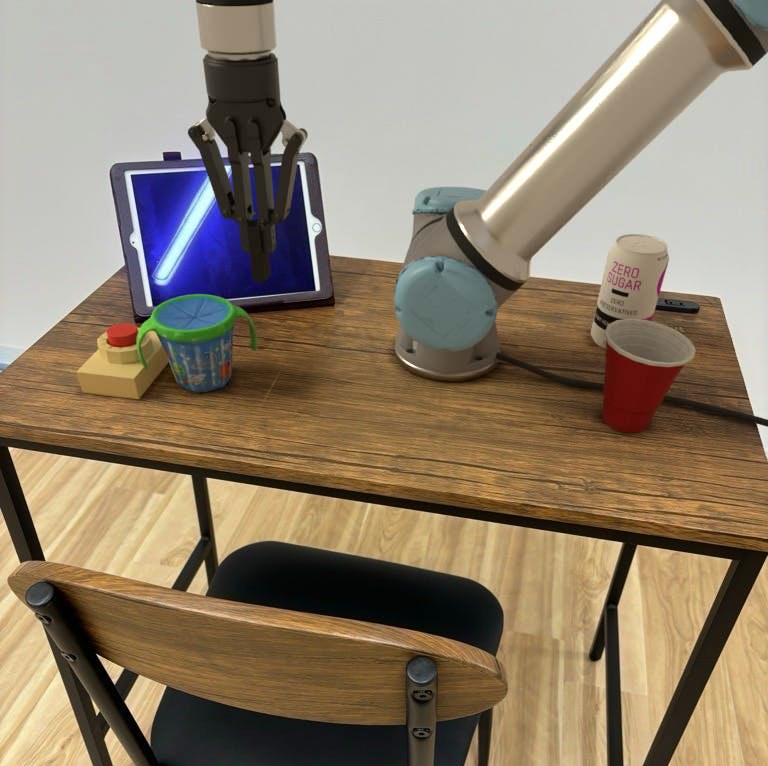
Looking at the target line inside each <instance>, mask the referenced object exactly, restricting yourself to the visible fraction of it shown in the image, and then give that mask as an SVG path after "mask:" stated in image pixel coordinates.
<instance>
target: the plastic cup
mask: <svg viewBox="0 0 768 766" xmlns="http://www.w3.org/2000/svg"><path fill="white" fill-rule="evenodd" d="M605 338H606V349H605V366H604V378H603V384H604V389H603V390H602V396H603V399H602V400H603V401H602V419H603V421H604V423H605V425H607V426H608V427H609V428H611V429H613V430H615V431H618V432H622V433H626V434H636V433H640V432H642V431H644V430H646V429H647V427H648V425H649V424H650V423H651V421H652V419H653V417H654V415H655V414H656V412H657V410H658V409H659V408H660V406H661V405H662V403H663V402H664V401H663V399H664V397H665V395H667V394H668V392H669V390H670V389H671V386H672V384H673V383H674V381H675V379H676V377H677V376H678V375H679V374H680V372H681V370H682V369H684V367H685V365H687V364H688V363H689V362H691V361H693V359H694V358H695V355H696V351H697V350H696V347H695V346H694V344H693V342H692V341H691V339H689V338H688V337H687V336H686V335H684V334H683V333H681V332H680V331H679V330H676V329H674V328H672V327H670V326H667V325H666V324H662V323H659V322H655V321H653V320H652V321H648V320H639V319H623V320H616V321H615V322H613V323H611V324H609V325H608V326H607V328H606V331H605Z"/></svg>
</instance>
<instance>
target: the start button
mask: <svg viewBox="0 0 768 766" xmlns="http://www.w3.org/2000/svg"><path fill="white" fill-rule="evenodd" d="M138 328H139V327H138V326H137V325H136V324H135V323H131V322H121V323H116V324H113V325H111V326H109V327H108V328H107V329H106V332H107V336H108V340H109V344H110V345H111V346H112V347H120V348H122V347H129V346H132V345H135V344H137V335H138Z"/></svg>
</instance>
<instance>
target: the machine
mask: <svg viewBox="0 0 768 766" xmlns="http://www.w3.org/2000/svg"><path fill="white" fill-rule="evenodd" d="M137 328H138V331H139V329H140V328H141V327H137ZM96 342H97V348H98V349H97V350H96V351H95V352H94V353H93V354H91V356H90V357H89V358H88V359H87V360H86V361H85V363H83V364H82V366H80V367H79V368H78V370H76V376H77V378H78V382H79V385H80V388H81V393H83V394H92V395H100V396H108V397H109V396H110V397H117V398H125V399H134V400H140V399H141V398H142V396H143V395H144V394H145V392H146V391H147V390H148V388H149V387H150V386H151V385H152V383H153V382H154V381H155V380H156V378H157V377H158V376H159V375H160V374H161V373H162V371H163V370H164V369H165V367H166V366H167V365H168V364H169V361H168V358H167V355H166V352H165V350H164V348H163V346H162V344H161V342H160V340H159V338H158V336H157V334H156V332H155V331H149V332H147V334H146V335H145V337H144V338H143V340H142V341H141V351H142V354H143V358H144V359H145V361H146V364H147V367H148V370H145V368H144V367H143V365H142V363H141V360H140V357H139V354H138V351H137V344H135V345H132V346H129V347H122V348H120V347H112V346H111V345H110V344H109V340H108V336H107V331H105V332H104V333H102V334H101V335H100V336H99V337H98V338H97V340H96Z"/></svg>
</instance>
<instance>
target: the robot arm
mask: <svg viewBox="0 0 768 766" xmlns="http://www.w3.org/2000/svg"><path fill="white" fill-rule="evenodd" d="M195 7H196V17H197V25H198V34H199V43H200V47H201V48H202V49H203V51H205V52H207V53H206V54H205V55H204V58H203V59H202V64H203V72H204V80H205V89H206V94H207V98H208V101H207V102H208V103H207V107H206V110H205V118H203V119H202V120H201V121H198V122H196V123H194V124H193V125H191V126H190V127H189V128H188V129H187V135H188V137H189V139H190V140H191V141H192V143H193V144H194V146H195V147H196V148H197V150H198V151H199V154H200V157H201V160H202V163H203V166H204V169H205V171H206V174H207V177H208V180H209V183H210V186H211V188H212V191H213V195H214V197H215V200H216V203H217V207H218V209H219V212H220V215H221V216H222V218H224V219H226V220H229V219H230V220H232V221H234V222H236V223H237V225H238V228H239V239H240V245H241V250H242V251H243V252H245V253H246V252H247V253H249V261H250V270H251V271H250V272H251V278H252V279H251V280H252V283H263V284H265V283H266V282H267V280H268V279H269V277H270V276H271V275H272V269H271V257H270V254H272V253H273V252H274V251H275V250H276V246H277V240H276V227H275V224H281V223H283V222H284V220H286V219H287V217H288V216H289V214H290V211H291V205H292V198H293V192H294V186H295V180H296V174H297V167H298V163H299V156H300V151H301V149H302V148H303V146H304V144H305V143H306V141H307V139H308V132H307V130H306V129H305V128H303V127H301V128H298V127H296V126H295V125H293V123H291V122H290V121H288V120H287V114H286V111H285V109H284V107H283V105H282V101H281V89H280V88H281V87H280V86H281V85H280V72H279V70H280V69H279V58H278V57H277V56H276V54H275V53H273V52H272V51H273V50H275V49H276V47H277V32H276V30H277V29H276V13H275V1H274V0H195ZM767 54H768V0H660V1H659V2H658V3H657V4H656V6H654V7H653V9H652V10H651V11H650V12H649V13H648V14H647V16H645V18H643V20H642V21H641V22H640V23H639V24H638V25H637V26H636V27H635V29H633V31H632V32H630V34H629V35H628V36H627V37H626V38H625V39H624V41H623V42H621V44H620V45H619V46H618V47H617V48H616V49H615V50H614V51H613V52H612V54H611V55H610V56H609V57H608V58H607V59H606V60H605V61H604V62H603V63H602V65H601V66H600V67H599V68H598V69H597V70H596V71H595V72H594V73H593V74H592V76H590V77H589V79H588V80H587V81H586V82H585V83H584V84H583V85H582V86H581V87H580V88H579V90H578V91H577V92H576V93H575V94H574V95H573V96H572V97H571V98H570V99H569V100H568V101H567V103H566V104H565V105H564V106H563V107H561V109H560V110H559V112H558V113H557V114H555V115H554V117H552V119H551V120H550V121H549V122H548V123H547V125H545V127H544V128H543V129H542V130H541V131H540V132H539V134H537V135H536V137H534V139H533V140H532V141H531V142H530V143H529V144H528V145H527V146H526V147H525V149H524V150H523V151H522V152H521V153H520V154H519V155H518V156H517V157H516V159H514V160H513V162H511V164H510V165H509V166H508V167H507V168H506V169H505V170H504V171H503V172H502V174H500V176H499V177H498V178H496V180H495V181H494V182H493V184H492V185H491V186H489V188H488V189H487V190H486V189H481V188H476V187H475V188H474V187H466V186H465V187H464V186H435V187H429V188H425V189H423V190H421V191H419V192H418V193H417V194H416V195H415V198H414V204H413V209H412V210H411V214H412V215H413V224H412V235H411V239H410V243H409V246H408V249H407V251H406V252H407V253H406V255H405V258H404V261H403V264H402V267H401V270H400V272H399V274H398V276H397V278H396V281H395V283H394V299H393V301H394V302H393V306H394V313H395V316H396V317H397V321H398V323H399V325H400V326H399V328H398V330H397V334H396V336H395V342H394V357H395V360H396V361H397V363H398V364H399V365H400V366H401V367H402V368H403V369H405V370H406V371H408V372H410V373H412V374H414V375H417V376H419V377H422V378H425V379H428V380H433V381H434V380H435V381H439V382H464V381H470V380H474V379H479V378H481V377H484V376H486V375H488V374H489V373H491V372H492V371H493V370H495V368H496V367H498V366H497V365H498V364H499V361H502V362H504V363H507V364H510V365H512V366H514V367H515V366H516V367H518V368H521V369H523V370H525V371H528V372H530V373H532V374H535V375H537V376H539V377H542V378H543V379H546V380H550V381H553V382H557V383H560V384H564V385H570V386H575V387H581V388H587V389H593V390H599V391H603V389H604V382H596V381H589V380H583V379H577V378H571V377H567V376H562V375H559V374H556V373H552V372H549V371H546V370H545V369H542V368H540V367H537V366H535V365H533V364H531V363H528V362H525V361H522V360H520V359H517V358H515V357H512V356H509V355H507V354H504V353H501V341H500V337H499V336H500V335H499V333H498V327H497V322H496V320H497V315H498V310H499V308H500V307H502V306H503V305H504V304H505V303H506V302H507V301H508V300H509V299H510V298H511V297H512V296H513V295H514V294H515V293H516V292H517V291H519V290H520V288H521V287H522V286H524V284H526V283H527V282H528V281H529V279H530V277H531V265H532V264H531V263H532V262H531V261H532V259H533V257H534V256H535V255H536V254H537V253H539V252H540V251H541V249H542V248H543V247H544V246H546V244H548V243H549V242H550V241H551V240H552V238H554V237H555V236H556V235H557V234H558V233H559V232H560V231H561V230H562V229H563V228H564V227H566V225H567V224H568V223H570V221H571V220H572V219H573V218H574V217H575V216H577V214H579V213H580V211H582V210H583V209H584V207H586V206H587V205H588V204H589V203H590V202H591V201H592V200H593V199H594V198H595V197H596V196H597V195H598V194H599V193H600V192H601V191H602V190H604V188H606V186H607V185H608V184H609V183H611V182H612V181H613V180H614V179H615V177H617V176H618V175H619V174H620V173H621V172H622V171H623V170H624V169H625V168H626V167H627V166H628V165H629V164H630V163H631V162H632V161H634V159H635V158H637V156H638V155H639V154H640V153H642V151H643V150H645V149H646V148H647V147H648V146H649V145H650V144H651V143H652V142H653V141H654V140H655V139H656V138H658V136H659V135H660V134H662V132H663V131H664V130H665V129H666V128H668V126H669V125H671V123H672V122H673V121H674V120H676V118H678V116H680V115H681V114H682V113H683V112H684V111H685V110H686V109H687V108H688V107H689V106H691V104H692V103H693V102H694V101H696V99H698V97H700V95H702V93H704V91H706V90H707V89H708V87H709V86H711V84H713V83H714V82H715V81H716V80H717V79H718V78H719V77H720V76H721V75H722V74H725V73H728V72H737V71H738V72H739V71H749V70H751V69H752V68H753V67H754V66H755V65H756V64H757V63H758V62H759V61H760V60H762V59H763V58H764V57H765V56H766V55H767ZM280 133H281V135H282V138H281V144H282V145H283V147H285V148H284V150H283V153H282V157H281V161H280V162H281V163H280V169H279V176H278V183H277V189H276V196H275V201H274V190H273V189H274V187H273V176H272V175H273V174H272V163H271V158H272V149H271V148H272V146H273V145H274V143H275V142H276V139H277V138H278V136H279V135H280ZM216 135H217V136H218V137H219V139H220V140H221V141H222V143H223V144H224V146H225V147H226V150H227V151H226V152H227V159H228V162H229V164H230V171H231V172H230V173H231V180H232V184H231V181H230V178H229V175H228V172H227V170H226V167H225V163H224V160H223V157H222V154H221V151H220V147H219V146H218V145H219V144H218V143H217V141H216ZM249 155H250V162H251V164H252V166H253V167H252V168H253V178H254V189H255V198H256V207H257V218H258V219H257V218H254V219H253V217H255V215H256V211H254V205H253V195H252V186H251V185H252V184H251V175H250V164H249ZM662 402H665V403H669V404H674V405H679V406H683V407H689V408H693V409H697V410H702V411H705V412H710V413H714V414H718V415H722V416H725V417H729V418H734V419H738V420H741V421H745V422H749V423H752V424H756V425H760V426H763V427H767V428H768V418H764V417H760V416H757V415H752V414H749V413H745V412H741V411H739V410H738V411H737V410H733V409H729V408H725V407H723V406H718V405H713V404H710V403H706V402H700V401H697V400H692V399H687V398H682V397H679V396H678V397H677V396H673V395H667V394H666V395H665V397H664V399H663V401H662ZM755 422H756V423H755Z"/></svg>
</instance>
